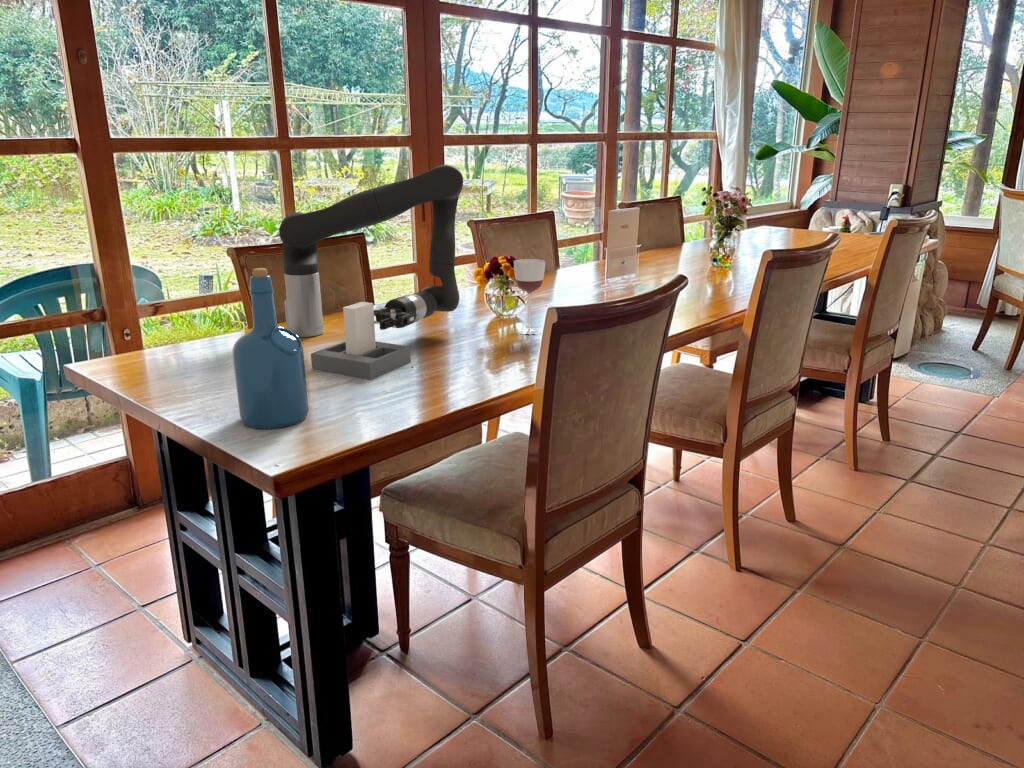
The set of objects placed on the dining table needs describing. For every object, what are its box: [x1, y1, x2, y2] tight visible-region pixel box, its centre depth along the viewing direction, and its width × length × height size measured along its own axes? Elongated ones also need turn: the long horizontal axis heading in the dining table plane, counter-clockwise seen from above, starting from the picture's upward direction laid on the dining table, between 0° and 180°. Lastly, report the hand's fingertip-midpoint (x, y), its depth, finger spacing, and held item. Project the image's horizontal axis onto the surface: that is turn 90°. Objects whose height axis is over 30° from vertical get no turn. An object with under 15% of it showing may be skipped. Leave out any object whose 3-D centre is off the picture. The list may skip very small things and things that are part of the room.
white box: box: [342, 301, 376, 356], centre depth 186 cm, size 3×7×14 cm, turn 152°
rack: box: [310, 340, 412, 381], centre depth 188 cm, size 17×16×4 cm
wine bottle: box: [231, 267, 310, 430], centre depth 150 cm, size 14×13×30 cm
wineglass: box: [513, 258, 546, 332], centre depth 217 cm, size 8×9×20 cm
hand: (366, 323), depth 188 cm, fingers open, 8 cm apart
